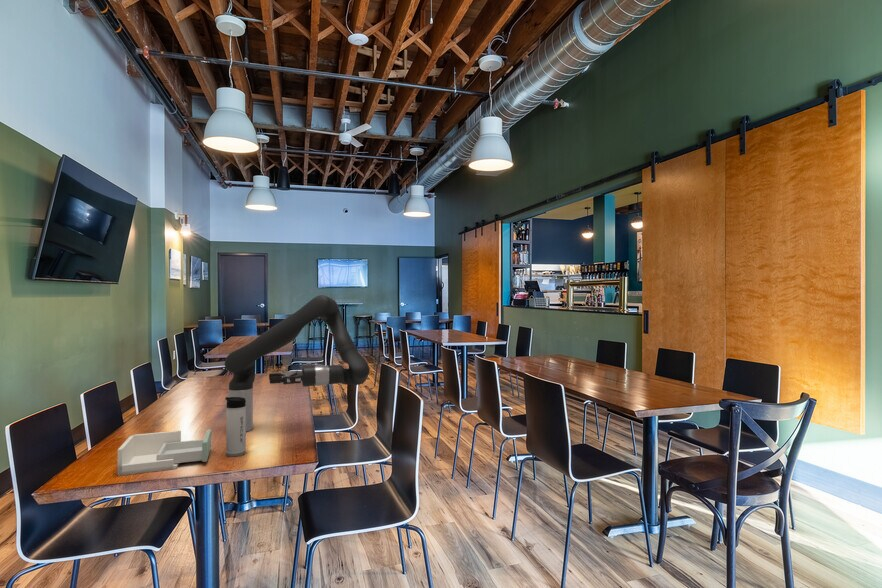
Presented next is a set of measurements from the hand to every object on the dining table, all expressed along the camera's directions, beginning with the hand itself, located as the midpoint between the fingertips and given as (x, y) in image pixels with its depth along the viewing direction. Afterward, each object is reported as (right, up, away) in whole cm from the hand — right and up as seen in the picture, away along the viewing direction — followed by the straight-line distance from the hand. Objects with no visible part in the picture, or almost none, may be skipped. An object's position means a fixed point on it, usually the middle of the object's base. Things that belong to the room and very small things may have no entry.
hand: (269, 378), depth 168 cm
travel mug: (-10, -26, -4) cm, 28 cm away
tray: (-25, -24, -10) cm, 36 cm away
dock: (-33, -26, -14) cm, 44 cm away
